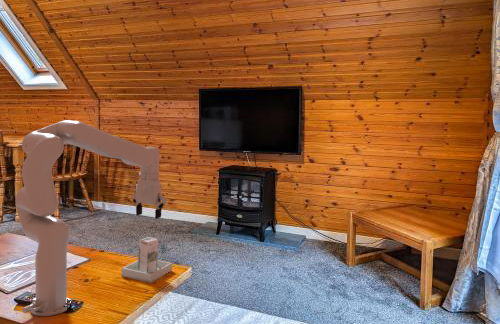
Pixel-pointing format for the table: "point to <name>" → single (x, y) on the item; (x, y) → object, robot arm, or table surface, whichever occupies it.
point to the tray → (133, 273)
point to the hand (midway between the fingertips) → (148, 216)
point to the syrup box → (148, 255)
